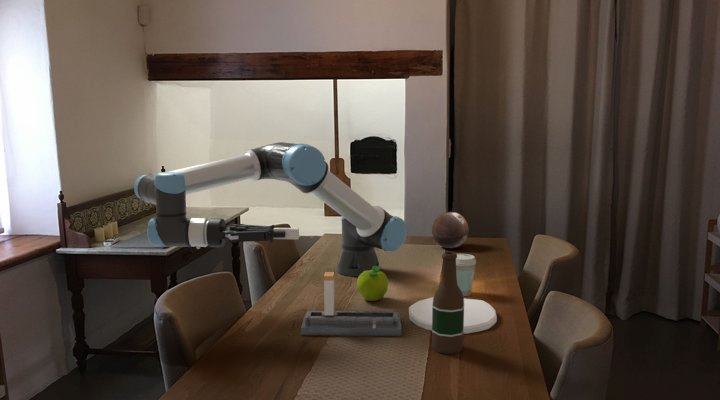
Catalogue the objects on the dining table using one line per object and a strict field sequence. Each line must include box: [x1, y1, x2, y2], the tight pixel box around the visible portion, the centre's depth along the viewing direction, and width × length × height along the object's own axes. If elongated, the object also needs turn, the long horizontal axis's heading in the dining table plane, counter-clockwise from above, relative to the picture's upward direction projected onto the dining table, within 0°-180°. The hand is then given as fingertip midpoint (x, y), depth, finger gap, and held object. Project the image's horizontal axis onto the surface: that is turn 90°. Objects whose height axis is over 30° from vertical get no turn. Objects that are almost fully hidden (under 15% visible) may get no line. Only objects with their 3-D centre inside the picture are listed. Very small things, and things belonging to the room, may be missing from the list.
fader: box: [321, 271, 338, 316], centre depth 169 cm, size 4×4×12 cm
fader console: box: [300, 310, 403, 337], centre depth 170 cm, size 26×12×4 cm, turn 89°
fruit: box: [356, 265, 389, 302], centre depth 193 cm, size 9×9×10 cm
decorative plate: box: [408, 296, 498, 335], centre depth 178 cm, size 25×4×25 cm
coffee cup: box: [456, 253, 477, 297], centre depth 199 cm, size 8×8×12 cm
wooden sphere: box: [431, 211, 470, 249], centre depth 261 cm, size 15×15×15 cm
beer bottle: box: [431, 251, 465, 355], centre depth 154 cm, size 8×8×24 cm
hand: (298, 233), depth 166 cm, fingers closed
